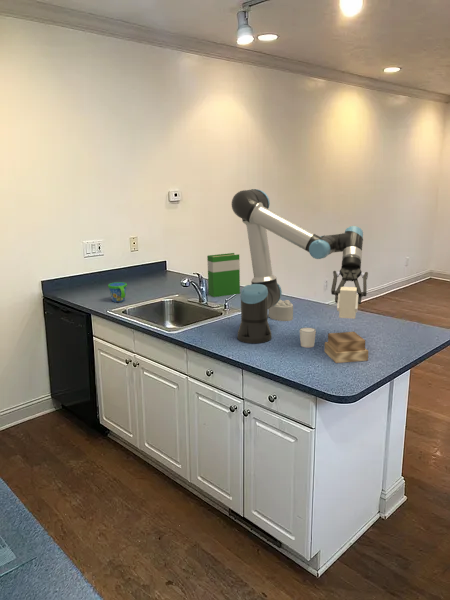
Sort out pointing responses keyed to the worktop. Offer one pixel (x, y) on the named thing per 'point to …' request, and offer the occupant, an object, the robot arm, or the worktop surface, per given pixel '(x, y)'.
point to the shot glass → (307, 337)
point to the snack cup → (117, 291)
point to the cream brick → (347, 302)
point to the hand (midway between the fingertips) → (347, 310)
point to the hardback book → (223, 274)
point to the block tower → (346, 347)
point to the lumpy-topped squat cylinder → (282, 311)
